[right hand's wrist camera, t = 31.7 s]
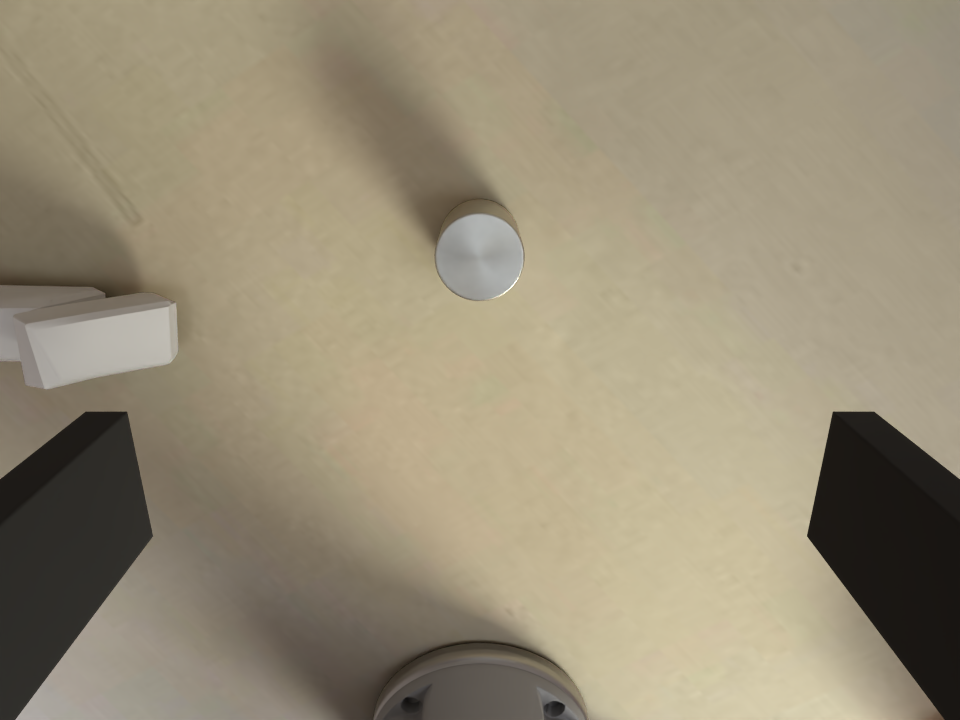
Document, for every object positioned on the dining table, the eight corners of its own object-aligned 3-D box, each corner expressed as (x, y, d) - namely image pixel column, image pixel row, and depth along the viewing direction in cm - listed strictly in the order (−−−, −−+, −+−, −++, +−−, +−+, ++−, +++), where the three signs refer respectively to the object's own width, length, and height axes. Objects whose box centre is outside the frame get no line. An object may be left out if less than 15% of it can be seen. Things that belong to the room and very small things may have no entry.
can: (424, 250, 36) (417, 271, 32) (467, 182, 35) (465, 194, 30) (491, 292, 37) (492, 317, 32) (534, 227, 35) (542, 244, 31)
